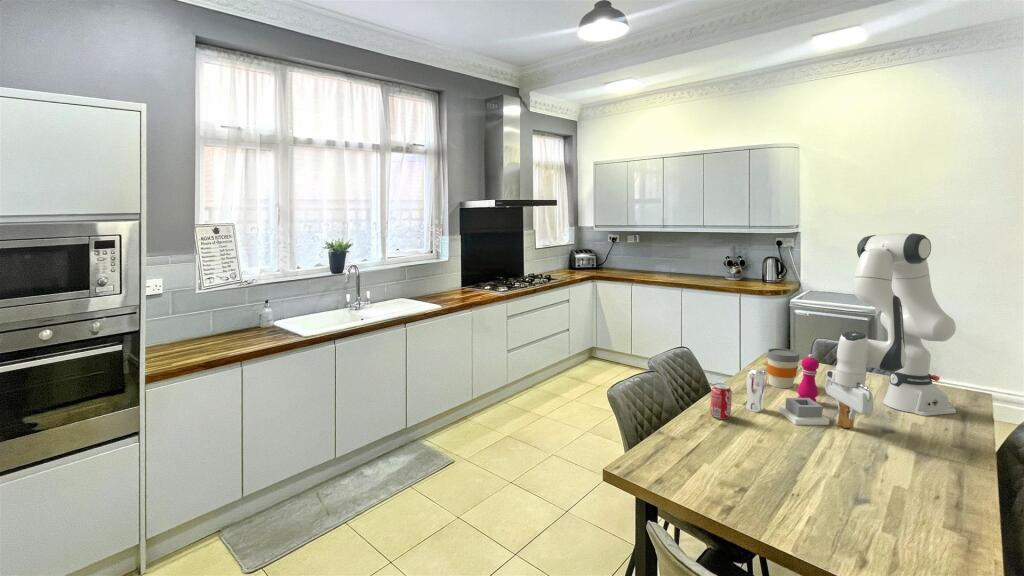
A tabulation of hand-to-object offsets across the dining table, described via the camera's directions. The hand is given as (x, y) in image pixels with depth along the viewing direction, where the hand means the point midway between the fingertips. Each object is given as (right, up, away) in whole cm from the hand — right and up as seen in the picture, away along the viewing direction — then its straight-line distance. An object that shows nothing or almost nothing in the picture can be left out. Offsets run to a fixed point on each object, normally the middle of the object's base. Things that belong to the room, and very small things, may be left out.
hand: (846, 416), depth 172 cm
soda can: (-40, -3, +11) cm, 42 cm away
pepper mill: (0, -1, +23) cm, 24 cm away
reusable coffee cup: (+1, +2, +43) cm, 43 cm away
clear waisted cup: (-24, -2, +17) cm, 30 cm away
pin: (0, -4, +1) cm, 4 cm away
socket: (-10, -3, +9) cm, 14 cm away
